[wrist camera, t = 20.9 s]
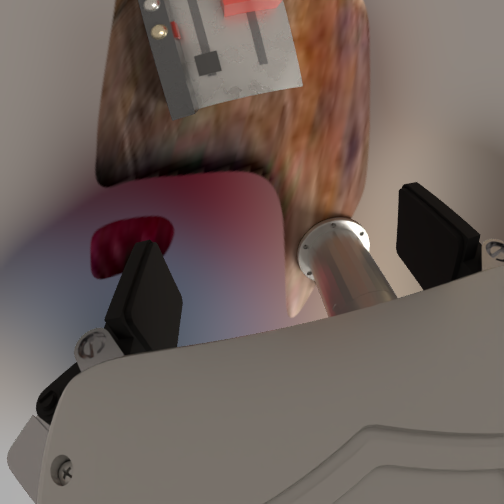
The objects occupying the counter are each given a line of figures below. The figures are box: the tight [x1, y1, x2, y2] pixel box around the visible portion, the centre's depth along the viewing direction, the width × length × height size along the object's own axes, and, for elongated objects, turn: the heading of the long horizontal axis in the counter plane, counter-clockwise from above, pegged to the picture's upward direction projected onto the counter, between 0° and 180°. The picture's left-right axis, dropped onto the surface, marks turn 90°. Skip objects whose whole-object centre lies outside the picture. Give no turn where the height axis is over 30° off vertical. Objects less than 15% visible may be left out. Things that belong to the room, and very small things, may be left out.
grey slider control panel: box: [138, 0, 303, 121], centre depth 25 cm, size 18×15×8 cm
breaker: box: [194, 51, 222, 76], centre depth 27 cm, size 2×2×3 cm
